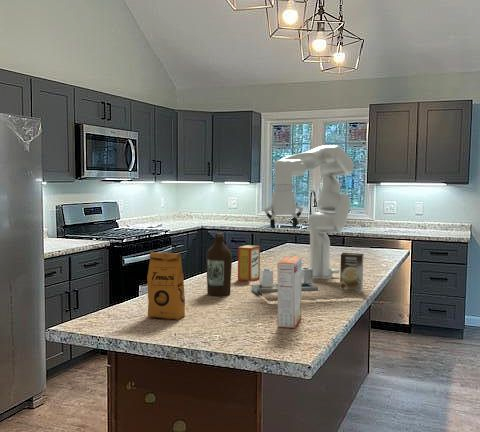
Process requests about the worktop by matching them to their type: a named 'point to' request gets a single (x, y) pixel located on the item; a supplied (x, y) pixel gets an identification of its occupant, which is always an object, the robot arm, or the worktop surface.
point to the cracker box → (289, 292)
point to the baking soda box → (248, 263)
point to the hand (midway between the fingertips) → (283, 227)
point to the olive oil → (218, 268)
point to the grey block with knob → (266, 278)
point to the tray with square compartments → (257, 289)
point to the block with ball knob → (306, 275)
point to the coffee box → (351, 271)
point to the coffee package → (165, 286)
